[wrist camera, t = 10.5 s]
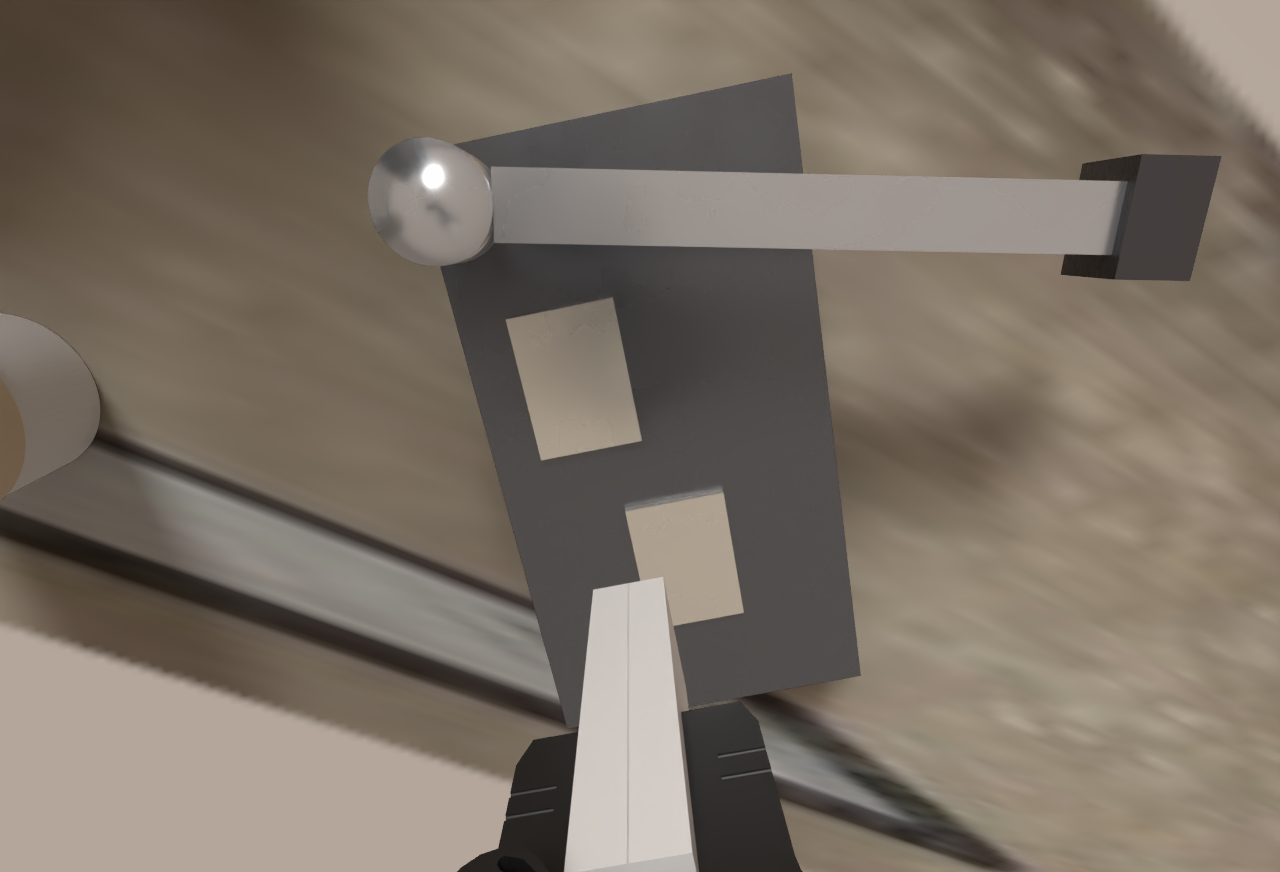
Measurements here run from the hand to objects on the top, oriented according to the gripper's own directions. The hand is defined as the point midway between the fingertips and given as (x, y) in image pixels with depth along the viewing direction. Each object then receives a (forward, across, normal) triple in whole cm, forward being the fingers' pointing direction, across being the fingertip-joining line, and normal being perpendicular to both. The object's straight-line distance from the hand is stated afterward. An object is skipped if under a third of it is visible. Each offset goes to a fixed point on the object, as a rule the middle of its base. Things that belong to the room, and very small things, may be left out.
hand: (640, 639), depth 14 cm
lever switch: (+15, +1, +1) cm, 15 cm away
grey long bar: (+7, +6, +8) cm, 12 cm away
